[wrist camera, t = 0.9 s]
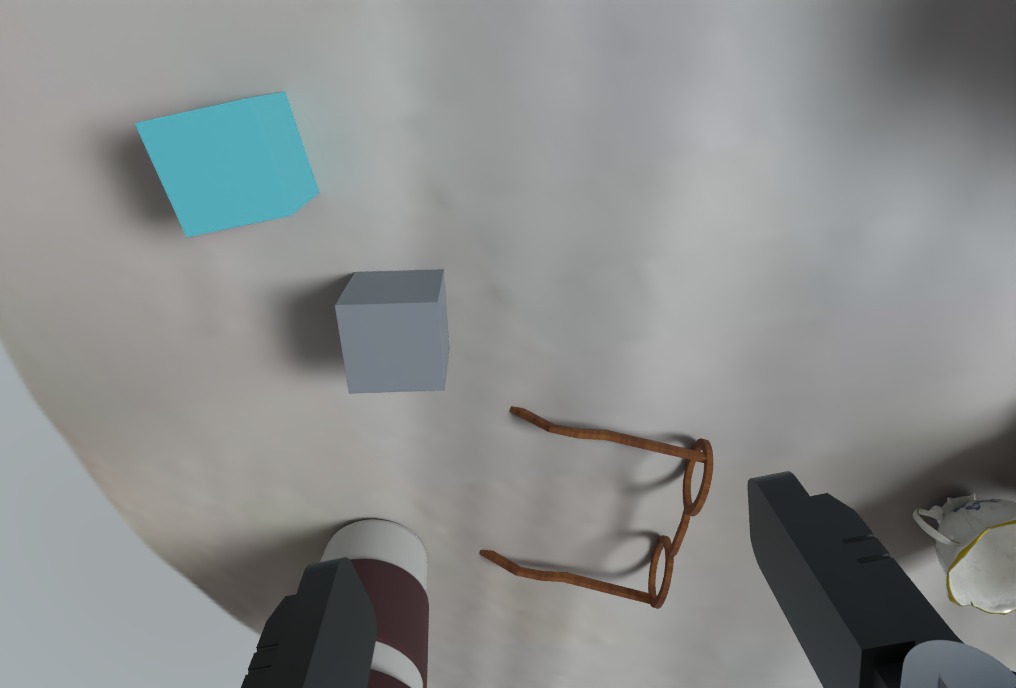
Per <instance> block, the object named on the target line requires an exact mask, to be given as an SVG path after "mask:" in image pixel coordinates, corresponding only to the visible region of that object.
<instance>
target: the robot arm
mask: <svg viewBox="0 0 1016 688" xmlns="http://www.w3.org/2000/svg"><path fill="white" fill-rule="evenodd" d="M748 503H749V522H750V538H751V543H752V547H753V551H754V554H755V557H756V560H757V563H758V565H759V567H760V569H761V571H762V573H763V575H764V577H765V579H766V581H767V582H768V584H769V586H770V588H771V590H772V592H773V594H774V596H775V597H776V599H777V601H778V603H779V605H780V607H781V609H782V611H783V612H784V614H785V616H786V618H787V620H788V622H789V624H790V626H791V627H792V629H793V631H794V633H795V635H796V637H797V639H798V641H799V642H800V644H801V646H802V648H803V650H804V652H805V654H806V656H807V657H808V659H809V661H810V663H811V665H812V667H813V669H814V671H815V672H816V674H817V676H818V678H819V680H820V682H821V684H822V686H823V687H824V688H1016V672H1013V671H1011V670H1010V669H1009V668H1007V667H1006V666H1005V665H1004V664H1002V663H1001V662H1000V661H998V660H997V659H995V658H994V657H992V656H991V655H989V654H987V653H985V652H983V651H981V650H979V649H977V648H974V647H972V646H969V645H967V644H964V643H963V642H962V641H961V640H960V639H959V638H958V637H957V636H956V635H955V634H954V632H953V631H952V630H951V629H950V628H949V626H948V625H947V624H946V623H945V621H944V620H943V619H942V618H941V617H940V615H939V614H938V613H937V612H936V610H935V609H934V608H933V607H932V605H931V604H930V603H929V602H928V600H927V599H926V598H925V597H924V596H923V594H922V593H921V592H920V591H919V589H918V588H917V587H916V586H915V584H914V583H913V582H912V581H911V579H910V578H909V577H908V576H907V575H906V573H905V572H904V571H903V570H902V568H901V567H900V566H899V565H898V563H897V562H896V561H895V560H894V558H891V557H890V556H889V552H888V551H887V550H886V549H885V547H884V546H883V545H882V544H881V542H880V541H879V540H878V539H877V538H875V537H874V535H873V533H872V531H871V530H870V529H869V528H868V526H867V525H866V524H865V523H864V521H863V520H862V519H861V518H860V516H859V515H858V514H857V513H856V512H855V510H853V509H851V508H850V507H848V506H847V505H845V504H844V503H842V502H841V501H839V500H837V499H836V498H834V497H833V496H831V495H830V494H828V493H825V494H820V495H815V496H809V494H808V493H807V492H806V490H805V489H804V487H803V486H802V485H801V483H800V482H799V481H798V479H797V478H796V477H795V475H794V474H793V473H791V472H789V471H787V472H782V473H776V474H771V475H766V476H761V477H756V478H751V479H749V480H748ZM376 637H377V622H376V615H375V611H374V607H373V605H372V603H371V601H370V599H369V597H368V595H367V593H366V590H365V588H364V586H363V584H362V582H361V580H360V578H359V576H358V574H357V572H356V570H355V568H354V566H353V564H352V562H351V560H350V559H349V558H347V557H343V558H338V559H333V560H328V561H323V562H318V563H313V564H310V565H308V566H307V568H306V569H305V571H304V574H303V577H302V579H301V582H300V585H299V588H298V591H297V594H295V595H290V596H285V598H284V599H283V600H282V602H281V603H280V604H279V606H278V607H277V608H276V610H275V611H274V612H273V613H272V615H271V616H270V617H269V619H268V620H267V622H266V624H265V627H264V629H263V632H262V634H261V637H260V640H259V643H258V645H257V647H256V648H257V652H256V653H254V655H253V658H252V660H251V663H250V666H249V668H248V675H246V676H245V678H244V681H243V683H242V686H241V688H367V686H368V681H369V675H370V670H371V665H372V659H373V654H374V649H375V643H376Z"/></svg>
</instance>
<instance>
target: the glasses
mask: <svg viewBox="0 0 1016 688" xmlns="http://www.w3.org/2000/svg"><path fill="white" fill-rule="evenodd" d="M510 412H512V413H514V414H516V415H518V416H520V417H521V418H523V419H525V420H527V421H529V422H531V423H533V424H535V425H536V426H538V427H540V428H542V429H544V430H546V431H548V432H551V433H556V434H560V435H565V436H569V437H574V438H580V439H598V440H607V441H612V442H616V443H620V444H625V445H629V446H633V447H638V448H642V449H646V450H650V451H655V452H659V453H663V454H668V455H672V456H676V457H680V458H685V459H688V462H687V465H686V469H685V473H684V479H683V504H684V511H683V515H682V519H681V522H680V524H679V527H678V529H677V532H676V534H675V537H674V540H673V542H672V544H671V540H670V538H669V537H668V536H664V535H662V536H661V537H660V538H659V540H658V542H657V545H656V547H655V550H654V553H653V555H652V560H651V564H650V570H649V581H648V592H649V593H646V592H642V591H638V590H634V589H630V588H626V587H622V586H618V585H614V584H610V583H606V582H602V581H598V580H594V579H590V578H586V577H582V576H578V575H574V574H571V573H567V572H551V571H540V570H534V569H529V568H523V567H520V566H518V565H516V564H515V563H513V562H511V561H510V560H508V559H506V558H504V557H503V556H501V555H499V554H498V553H496V552H494V551H490V550H481V555H482V556H484V557H485V558H487V559H489V560H491V561H492V562H494V563H496V564H497V565H499V566H501V567H502V568H504V569H506V570H508V571H509V572H511V573H513V574H514V575H517V576H521V577H526V578H531V579H535V580H540V581H555V582H565V583H569V584H573V585H577V586H581V587H585V588H589V589H593V590H597V591H601V592H605V593H609V594H613V595H617V596H620V597H624V598H628V599H632V600H636V601H640V602H644V603H648V604H651V606H652V607H653V608H657V609H659V608H660V607H661V606H662V605H663V603H664V601H665V599H666V596H667V594H668V590H669V587H670V582H671V577H672V571H673V563H674V556H675V555H676V554H677V553H678V550H679V548H680V546H681V543H682V541H683V538H684V536H685V533H686V530H687V528H688V524H689V520H690V516H695V515H697V514H698V513H699V512H700V510H701V509H702V507H703V505H704V503H705V500H706V498H707V495H708V492H709V488H710V484H711V480H712V473H713V452H712V447H711V444H710V442H709V441H708V440H705V439H698V440H697V441H696V443H695V444H694V446H693V449H692V450H690V449H686V448H682V447H677V446H673V445H669V444H665V443H660V442H656V441H652V440H647V439H643V438H639V437H634V436H630V435H626V434H622V433H617V432H613V431H609V430H592V429H577V428H571V427H565V426H559V425H555V424H553V423H551V422H549V421H547V420H545V419H543V418H541V417H539V416H537V415H535V414H534V413H532V412H530V411H528V410H526V409H523V408H518V407H513V406H511V409H510ZM701 450H702V451H703V452H701ZM696 461H697V462H702V463H704V473H703V479H702V483H701V487H700V490H699V493H698V495H697V498H696V499H695V501H694V503H693V504H692V500H691V478H692V473H693V468H694V465H695V462H696ZM663 547H664V549H665V557H666V562H665V572H664V578H663V582H662V586H661V589H660V591H659V594H658V595H657V596H656V588H655V579H656V569H657V564H658V560H659V556H660V554H661V551H662V549H663Z"/></svg>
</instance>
